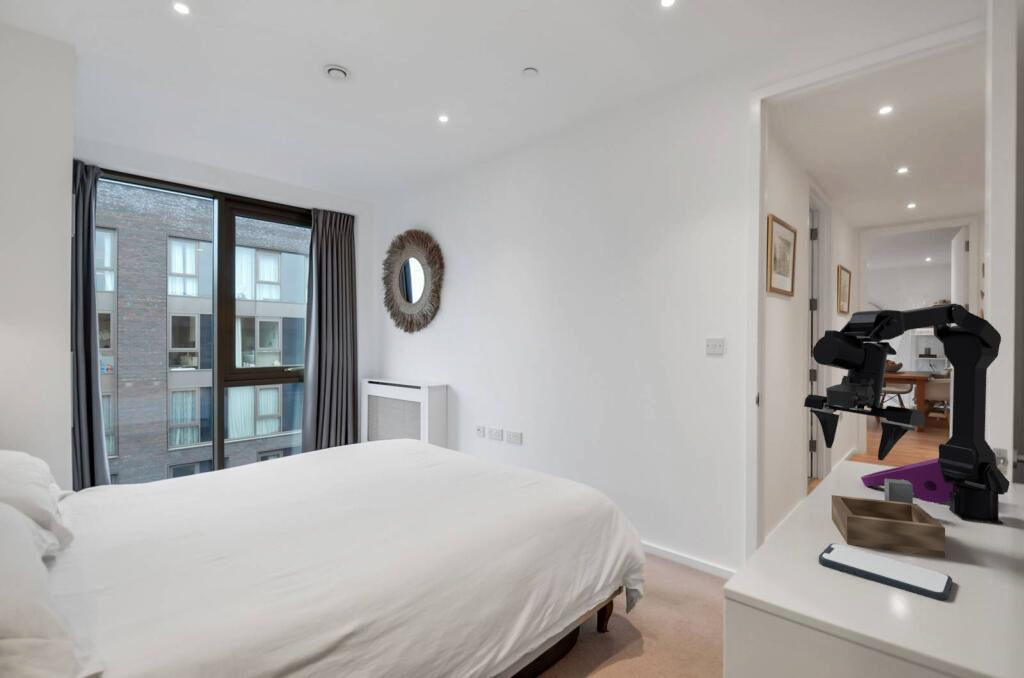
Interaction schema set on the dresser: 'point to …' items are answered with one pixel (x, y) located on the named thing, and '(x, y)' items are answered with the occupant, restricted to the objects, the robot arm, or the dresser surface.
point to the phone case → (887, 571)
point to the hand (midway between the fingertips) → (853, 453)
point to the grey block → (898, 490)
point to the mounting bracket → (917, 480)
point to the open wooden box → (888, 525)
